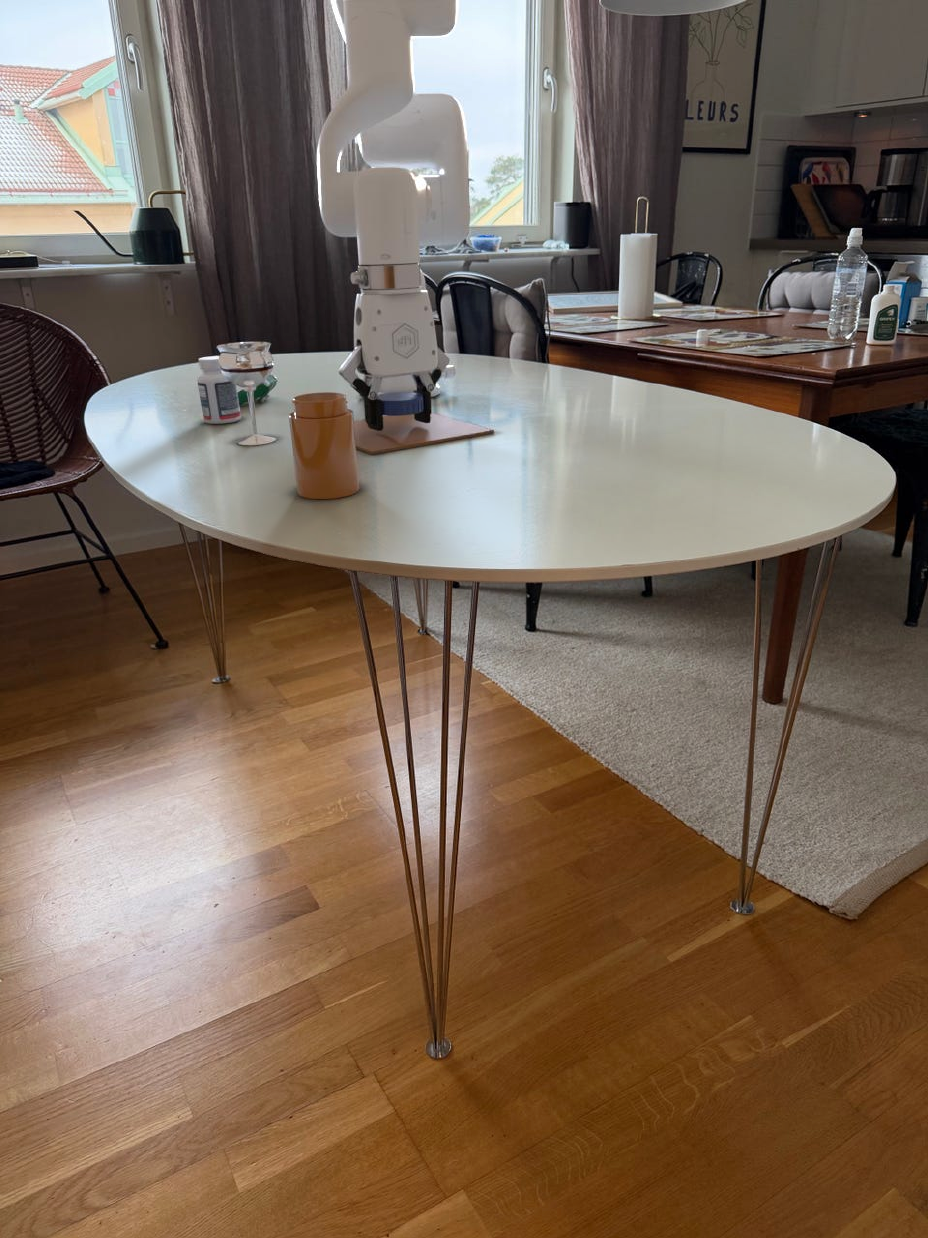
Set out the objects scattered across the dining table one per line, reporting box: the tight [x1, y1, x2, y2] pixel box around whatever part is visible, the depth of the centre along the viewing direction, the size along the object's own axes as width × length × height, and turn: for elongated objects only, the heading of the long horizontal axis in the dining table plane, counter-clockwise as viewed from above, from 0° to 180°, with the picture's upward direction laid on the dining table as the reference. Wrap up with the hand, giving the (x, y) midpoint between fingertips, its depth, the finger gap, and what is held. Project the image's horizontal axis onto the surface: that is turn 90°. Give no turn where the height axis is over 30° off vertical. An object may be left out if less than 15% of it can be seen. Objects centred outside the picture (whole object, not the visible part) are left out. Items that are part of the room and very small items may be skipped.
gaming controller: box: [237, 372, 278, 407], centre depth 138 cm, size 9×4×6 cm
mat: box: [354, 412, 495, 455], centre depth 114 cm, size 18×18×1 cm
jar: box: [288, 391, 361, 500], centre depth 87 cm, size 6×6×10 cm
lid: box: [377, 392, 424, 416], centre depth 112 cm, size 7×7×2 cm
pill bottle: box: [196, 355, 242, 425], centre depth 122 cm, size 5×5×9 cm
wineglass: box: [216, 341, 277, 446], centre depth 109 cm, size 7×7×12 cm
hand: (399, 424), depth 113 cm, fingers closed on lid, 6 cm apart
